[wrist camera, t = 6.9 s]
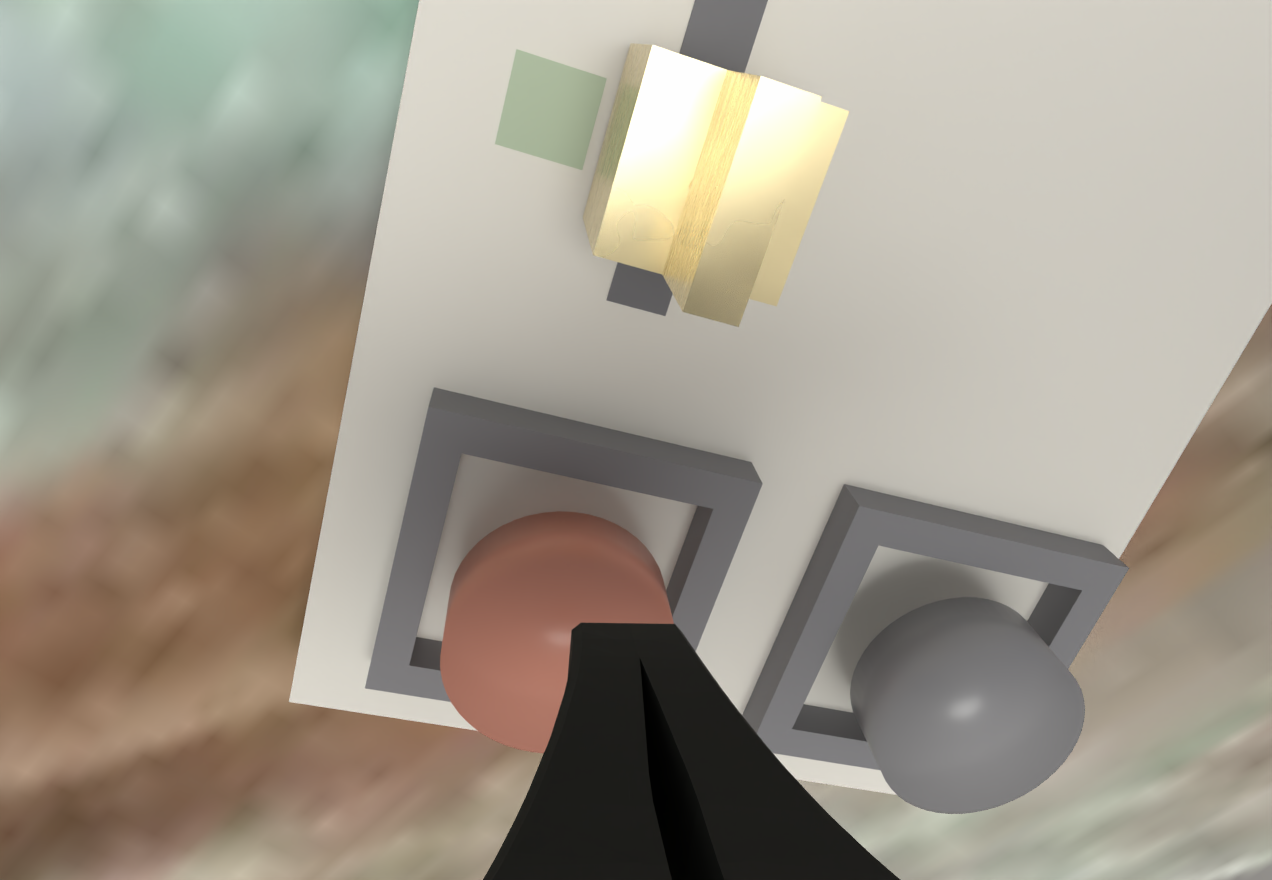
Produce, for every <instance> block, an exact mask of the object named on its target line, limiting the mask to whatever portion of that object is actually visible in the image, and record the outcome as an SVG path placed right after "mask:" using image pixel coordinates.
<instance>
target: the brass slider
mask: <svg viewBox="0 0 1272 880" xmlns="http://www.w3.org/2000/svg"><path fill="white" fill-rule="evenodd" d="M821 98H822V97H821V96H818V95H815V94H812V93H810V92H807V91H804V90H801V89H798V88H795V87H792V86H789V85H786V84H783V83H780V82H777V81H774V80H771V79H768V78H765V77H762V76H758V75H752V74H747V73H741V72H735V71H730V70H726V69H723V68H720V67H717V66H714V65H711V64H708V63H705V62H702V61H699V60H696V59H693V58H690V57H687V56H684V55H681V54H678V53H675V52H672V51H669V50H666V49H663V48H660V47H658V46H655V45H648V44H635V43H630V47H629V51H628V54H627V58H626V62H625V65H624V69H623V72H622V76H621V80H620V83H619V87H618V91H617V94H616V98H615V102H614V105H613V109H612V113H611V116H610V120H609V123H608V127H607V131H606V134H605V138H604V142H603V145H602V149H601V153H600V156H599V160H598V164H597V167H596V171H595V174H594V178H593V182H592V185H591V189H590V193H589V196H588V200H587V204H586V207H585V211H584V214H583V221H584V224H585V228H586V232H587V235H588V239H589V243H590V246H591V250H592V254H593V255H594V256H598V257H601V258H605V259H608V260H612V261H615V262H619V263H623V264H626V265H630V266H633V267H637V268H641V269H644V270H648V271H651V272H655V273H658V274H662V275H663V277H664V279H665V280H666V282H667V284H668V286H669V288H670V290H671V292H672V293H673V295H674V297H675V299H676V301H677V303H678V304H679V306H680V308H681V310H682V312H684V313H688V314H692V315H696V316H699V317H703V318H707V319H710V320H714V321H718V322H721V323H725V324H729V325H732V326H736V327H739V325H740V322H741V320H742V317H743V314H744V311H745V309H746V306H747V303H748V300H749V299H752V300H755V301H759V302H762V303H766V304H770V305H773V306H777V304H778V301H779V299H780V296H781V293H782V291H783V288H784V285H785V283H786V280H787V277H788V275H789V272H790V269H791V266H792V264H793V261H794V258H795V256H796V253H797V250H798V248H799V245H800V242H801V240H802V237H803V234H804V232H805V229H806V226H807V224H808V221H809V218H810V216H811V213H812V210H813V208H814V205H815V202H816V200H817V197H818V194H819V192H820V189H821V186H822V184H823V181H824V178H825V176H826V173H827V170H828V168H829V165H830V162H831V160H832V157H833V154H834V151H835V149H836V146H837V143H838V141H839V138H840V135H841V133H842V130H843V127H844V125H845V122H846V119H847V117H848V114H849V111H847V110H844V109H841V108H838V107H835V106H832V105H829V104H826V103H823V102H820V100H821Z"/></svg>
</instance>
